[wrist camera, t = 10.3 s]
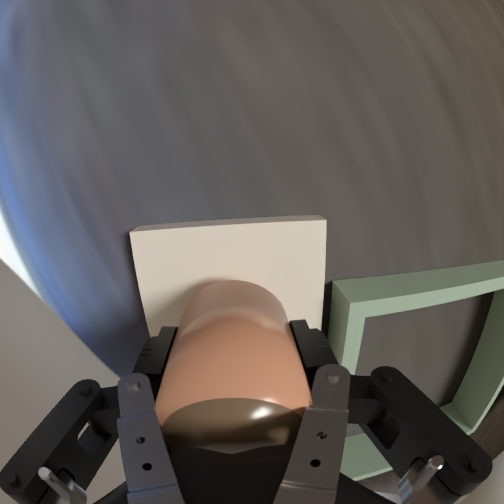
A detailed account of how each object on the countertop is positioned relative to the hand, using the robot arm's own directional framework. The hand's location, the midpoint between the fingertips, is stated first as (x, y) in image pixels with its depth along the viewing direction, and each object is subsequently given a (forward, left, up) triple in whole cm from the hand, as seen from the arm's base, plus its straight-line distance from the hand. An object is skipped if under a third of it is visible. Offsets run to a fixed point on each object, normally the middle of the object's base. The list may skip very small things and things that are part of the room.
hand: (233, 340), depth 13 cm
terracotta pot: (0, 0, -1) cm, 1 cm away
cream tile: (0, 0, -4) cm, 4 cm away
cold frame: (-15, +8, -4) cm, 17 cm away
